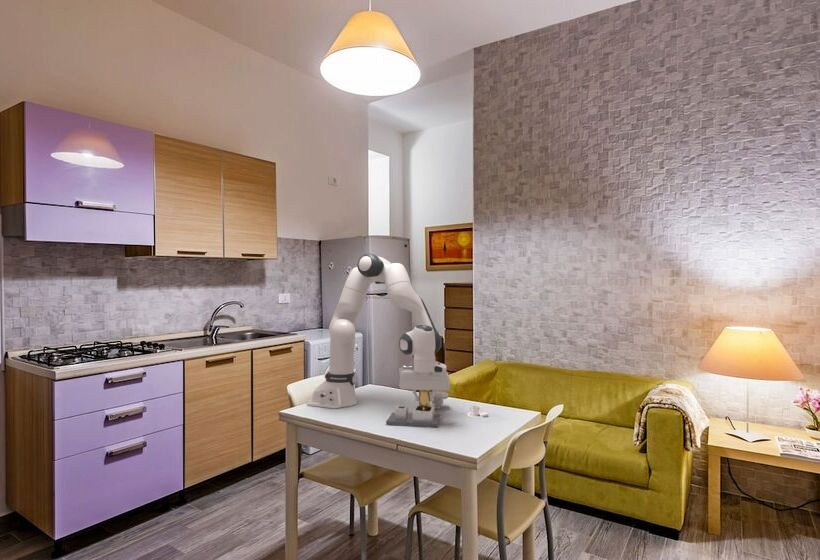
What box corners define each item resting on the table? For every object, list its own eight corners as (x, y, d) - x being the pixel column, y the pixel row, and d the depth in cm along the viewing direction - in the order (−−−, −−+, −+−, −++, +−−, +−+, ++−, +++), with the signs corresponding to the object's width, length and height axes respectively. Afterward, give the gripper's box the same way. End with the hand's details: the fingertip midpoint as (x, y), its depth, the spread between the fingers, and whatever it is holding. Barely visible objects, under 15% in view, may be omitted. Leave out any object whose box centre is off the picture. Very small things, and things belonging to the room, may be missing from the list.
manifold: (386, 424, 179) (386, 410, 179) (392, 415, 191) (392, 402, 191) (437, 427, 176) (437, 413, 176) (440, 418, 188) (440, 405, 188)
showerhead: (425, 389, 208) (447, 389, 208) (425, 404, 208) (447, 405, 208) (425, 394, 198) (449, 394, 198) (425, 410, 198) (449, 411, 198)
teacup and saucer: (491, 417, 191) (491, 407, 191) (475, 420, 187) (475, 410, 187) (477, 412, 198) (477, 402, 198) (463, 414, 195) (463, 405, 194)
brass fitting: (418, 411, 181) (418, 391, 181) (419, 408, 186) (419, 388, 186) (429, 412, 181) (429, 392, 181) (430, 409, 185) (430, 389, 185)
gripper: (397, 367, 182) (397, 401, 182) (449, 368, 178) (449, 404, 178) (400, 364, 188) (400, 397, 188) (450, 365, 185) (450, 399, 185)
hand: (424, 400), depth 183 cm, fingers closed on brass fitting, 4 cm apart
